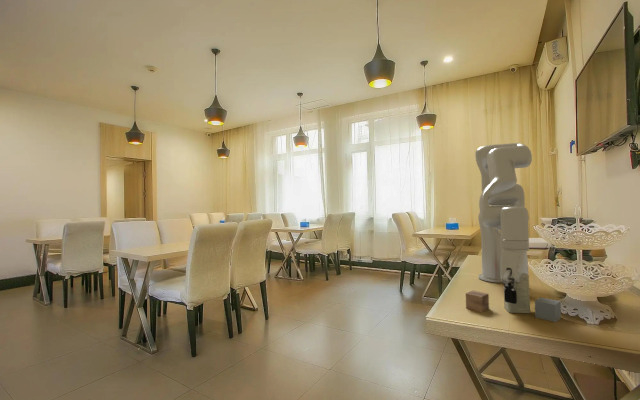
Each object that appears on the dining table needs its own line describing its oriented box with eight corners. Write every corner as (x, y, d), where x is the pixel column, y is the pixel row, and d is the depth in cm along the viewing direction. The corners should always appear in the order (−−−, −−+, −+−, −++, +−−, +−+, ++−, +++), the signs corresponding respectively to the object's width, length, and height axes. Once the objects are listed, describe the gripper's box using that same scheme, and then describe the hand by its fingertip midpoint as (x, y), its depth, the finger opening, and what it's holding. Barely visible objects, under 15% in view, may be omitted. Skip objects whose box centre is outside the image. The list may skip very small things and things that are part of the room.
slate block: (541, 313, 93) (540, 297, 93) (560, 318, 89) (560, 301, 89) (535, 317, 90) (534, 300, 90) (555, 322, 86) (555, 305, 86)
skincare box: (525, 309, 97) (524, 271, 97) (530, 314, 92) (529, 274, 93) (503, 307, 98) (502, 270, 99) (507, 312, 94) (506, 274, 94)
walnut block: (473, 305, 102) (473, 290, 102) (488, 309, 98) (488, 293, 98) (466, 308, 99) (465, 293, 99) (481, 312, 95) (481, 296, 95)
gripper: (512, 241, 104) (514, 291, 104) (490, 246, 93) (491, 302, 93) (538, 243, 98) (539, 296, 98) (517, 249, 87) (519, 309, 87)
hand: (516, 299), depth 95 cm, fingers open, 8 cm apart
